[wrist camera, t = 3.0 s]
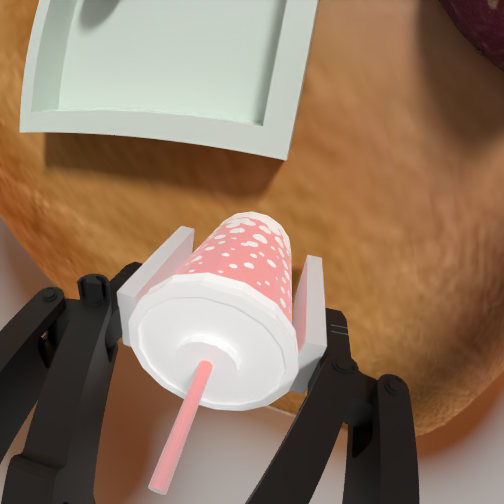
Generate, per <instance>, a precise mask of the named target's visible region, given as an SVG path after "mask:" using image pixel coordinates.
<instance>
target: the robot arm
mask: <svg viewBox="0 0 504 504" xmlns="http://www.w3.org/2000/svg"><path fill="white" fill-rule="evenodd" d="M193 238H194V229H193V228H188V227H184V226H181V227H180V228H179V229H178V230H177V231H176V232H175V233H173V234H172V235H171V236H170V237H169V238H168V239H167V240H166V241H165V242H164V243H163V244H162V245H161V246H160V247H159V248H158V249H157V250H156V251H155V252H154V253H153V254H152V255H151V256H150V257H149V259H148V260H147V261H146V262H145V263H144V264H141V263H138V262H133V263H131V264H129V265H126V266H125V267H124V268H123V269H122V270H121V271H120V273H118V274H117V275H116V276H115V277H114V278H113V279H112V280H111V281H110V282H109V280H108V279H107V278H106V277H105V276H103V275H100V274H89V275H85V276H83V277H81V278H80V279H79V280H78V281H77V284H78V289H79V295H80V300H75V299H66V298H65V296H64V293H63V291H62V290H61V289H60V288H57V287H47V288H45V289H42V290H41V291H39V292H38V293H37V294H36V295H35V296H34V297H33V298H32V299H31V300H30V301H29V302H28V303H27V304H26V305H25V306H24V307H23V308H22V309H21V310H20V311H19V312H18V313H17V314H16V315H15V316H14V317H13V318H12V319H11V320H10V321H9V322H8V323H7V325H6V326H5V327H4V328H3V329H2V330H1V331H0V464H1V462H2V460H3V458H4V456H5V454H6V452H7V451H8V449H9V447H10V445H11V443H12V442H13V440H14V438H15V436H16V435H17V433H18V431H19V430H20V428H21V426H22V425H23V423H24V421H25V420H26V418H27V416H28V415H29V413H30V411H31V409H32V408H33V407H34V405H35V404H36V402H37V400H38V402H37V405H36V408H35V412H34V415H33V418H32V421H31V424H30V428H29V432H28V435H27V439H26V442H25V447H24V449H23V452H22V453H21V454H18V455H14V456H13V457H12V458H11V460H10V463H9V466H8V470H7V475H6V479H5V485H4V490H3V495H2V502H1V504H96V503H95V499H94V495H93V488H94V478H95V469H96V461H97V454H98V447H99V440H100V433H101V427H102V422H103V416H104V411H105V406H106V401H107V395H108V390H109V386H110V381H111V377H112V372H113V368H114V363H115V359H116V355H117V351H118V344H117V341H118V339H119V338H120V337H121V335H122V338H123V344H124V345H127V346H130V347H131V345H130V336H129V323H128V321H129V319H130V317H131V315H132V313H133V311H134V310H135V308H136V306H137V304H138V302H139V300H140V299H141V298H142V297H143V296H144V295H146V294H147V293H148V291H149V290H150V288H152V287H154V286H156V285H157V284H159V283H161V282H162V281H164V280H166V279H168V278H169V277H171V276H172V275H173V274H174V273H175V272H176V270H177V269H178V268H179V267H180V266H181V265H182V264H183V263H184V262H185V261H186V260H187V259H188V258H189V257H190V256H191V255H192V249H193ZM292 326H293V327H294V329H295V331H296V338H297V346H298V354H299V356H298V364H299V370H298V373H297V375H296V377H295V379H294V381H293V383H292V385H291V387H290V389H289V391H292V392H298V393H303V394H304V392H305V391H306V389H307V387H308V393H307V396H306V398H305V400H304V402H303V404H302V406H301V407H300V409H299V412H298V414H297V416H296V418H295V420H294V422H293V423H292V425H291V427H290V429H289V431H288V433H287V435H286V436H285V438H284V440H283V442H282V444H281V446H280V447H279V449H278V451H277V453H276V454H275V456H274V458H273V460H272V461H271V463H270V465H269V466H268V468H267V470H266V471H265V473H264V475H263V477H262V478H261V480H260V481H259V483H258V485H257V486H256V488H255V489H254V491H253V492H252V494H251V495H250V497H249V498H248V500H247V502H246V503H245V504H309V502H310V499H311V498H312V495H313V493H314V491H315V489H316V487H317V485H318V482H319V480H320V478H321V475H322V473H323V471H324V469H325V466H326V464H327V461H328V459H329V457H330V454H331V452H332V449H333V447H334V444H335V441H336V439H337V436H338V433H339V431H340V428H341V425H342V423H343V422H344V423H346V424H348V443H347V459H346V473H345V483H344V493H343V502H342V504H419V478H418V462H417V450H416V441H415V431H414V423H413V416H412V408H411V402H410V395H409V390H408V387H407V384H406V383H405V382H404V381H403V380H402V379H401V378H399V377H398V376H395V375H392V374H385V375H383V376H381V377H380V378H379V379H378V380H376V379H374V378H371V377H369V376H367V375H365V374H363V373H361V372H360V371H359V368H358V366H357V363H356V362H355V361H354V360H353V359H352V358H351V352H350V344H349V336H348V329H347V321H346V318H345V316H344V315H343V313H342V312H341V311H338V310H334V309H329V308H325V298H324V283H323V270H322V258H319V257H315V256H311V255H307V258H306V261H305V265H304V268H303V272H302V275H301V278H300V282H299V285H298V289H297V292H296V295H295V301H294V312H293V323H292ZM44 332H45V333H46V335H45V336H44V337H43V338H42V337H41V336H42V335H43V334H44Z"/></svg>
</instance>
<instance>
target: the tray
mask: <svg viewBox="0 0 504 504" xmlns="http://www.w3.org/2000/svg"><path fill="white" fill-rule="evenodd" d="M318 6H319V0H40V1H39V4H38V8H37V12H36V15H35V19H34V23H33V28H32V32H31V37H30V42H29V47H28V52H27V58H26V64H25V71H24V79H23V88H22V98H21V112H20V132H63V133H89V134H106V135H119V136H131V137H142V138H151V139H160V140H169V141H177V142H184V143H192V144H198V145H205V146H212V147H218V148H224V149H230V150H235V151H241V152H246V153H252V154H257V155H262V156H267V157H272V158H277V159H281V160H287V158H288V155H289V153H290V150H291V145H292V140H293V135H294V130H295V125H296V120H297V116H298V111H299V106H300V101H301V95H302V90H303V85H304V80H305V75H306V70H307V65H308V60H309V54H310V49H311V44H312V38H313V33H314V28H315V22H316V17H317V11H318Z"/></svg>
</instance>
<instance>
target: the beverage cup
mask: <svg viewBox="0 0 504 504" xmlns="http://www.w3.org/2000/svg"><path fill="white" fill-rule="evenodd" d="M128 323H129V336H130V345H131V347H132V349H133V351H134V353H135V354H136V356H137V358H138V360H139V362H140V364H141V366H142V367H143V368H144V369H145V370H146V371H147V372H148V373H149V374H150V375H151V376H152V377H153V378H154V379H155V380H156V381H157V382H158V383H159V384H160V385H161V386H162V387H164V388H166V389H167V390H169V391H171V392H172V393H174V394H176V395H178V396H179V397H181V398H183V399H184V401H183V404H182V406H181V408H180V411H179V413H178V416H177V418H176V420H175V423H174V425H173V428H172V430H171V433H170V435H169V437H168V440H167V442H166V445H165V447H164V450H163V452H162V454H161V457H160V459H159V462H158V464H157V467H156V469H155V472H154V474H153V477H152V479H151V481H150V484H149V486H148V488H149V489H151V490H152V491H154V492H157V493H159V494H164V495H165V494H166V493H167V490H168V488H169V485H170V482H171V479H172V477H173V474H174V471H175V469H176V466H177V463H178V460H179V458H180V455H181V452H182V450H183V447H184V444H185V442H186V439H187V436H188V433H189V431H190V428H191V425H192V423H193V420H194V417H195V414H196V412H197V409H198V406H199V405H202V406H205V407H208V408H212V409H217V410H232V411H244V410H250V409H254V408H259V407H263V406H267V405H269V404H271V403H273V402H274V401H276V400H277V399H279V398H280V397H282V396H283V395H284V394H286V393H287V392H288V391H289V389H290V387H291V385H292V383H293V381H294V379H295V377H296V375H297V373H298V370H299V364H298V356H299V354H298V346H297V338H296V331H295V329H294V327H293V326H292V276H291V249H290V242H289V237H288V236H287V234H286V233H285V231H284V229H283V228H282V226H281V225H280V224H279V223H277V222H276V221H274V220H273V219H272V218H270V217H269V216H267V215H263V214H259V213H255V212H245V213H238V214H235V215H233V216H232V217H230V218H228V219H227V220H225V221H223V222H222V224H221V225H220V226H219V227H218V228H217V229H216V230H215V231H214V232H213V233H212V234H211V235H210V236H209V237H208V238H207V239H206V240H205V241H204V242H203V243H202V244H201V245H200V246H199V247H198V248H197V249H196V250H195V251H194V252H193V254H192V255H191V256H190V257H189V258H188V259H187V260H186V261H185V262H184V263H183V264H182V265H181V266H180V267H179V268H178V269H177V270H176V272H175V273H174V274H173V275H172V276H171V277H169V278H168V279H166V280H164V281H162V282H161V283H159V284H157V285H156V286H154V287H152V288H150V290H149V291H148V293H147V294H146V295H144V296H143V297H142V298H141V299H140V300H139V302H138V304H137V306H136V308H135V310H134V311H133V313H132V315H131V317H130V319H129V321H128Z"/></svg>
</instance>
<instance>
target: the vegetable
mask: <svg viewBox="0 0 504 504" xmlns="http://www.w3.org/2000/svg"><path fill="white" fill-rule="evenodd" d="M439 1H440V3H441V4H442V5H443V7H444V9H445V10H446V11H447V13H448V14H449V16H450V17H451V19H452V20H453V21H454V23H455V25H456V26H457V27H458V29H459V30H460V31H461V33H462V34H463V35H464V36H465V37H466V38H467V39H469V41H470V42H471V43H472V44H473V45H474V46H475V48H476V49H477V52H478V53H479V54H481V55H484V56H486V57H487V58H488V59H489V60H490V61H492V62H493V63H494V64H495V65H497V66H498V67H499V68H500V69H502V70H503V71H504V0H439Z"/></svg>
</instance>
